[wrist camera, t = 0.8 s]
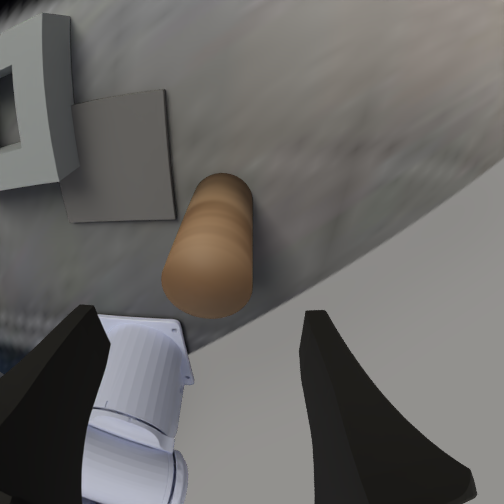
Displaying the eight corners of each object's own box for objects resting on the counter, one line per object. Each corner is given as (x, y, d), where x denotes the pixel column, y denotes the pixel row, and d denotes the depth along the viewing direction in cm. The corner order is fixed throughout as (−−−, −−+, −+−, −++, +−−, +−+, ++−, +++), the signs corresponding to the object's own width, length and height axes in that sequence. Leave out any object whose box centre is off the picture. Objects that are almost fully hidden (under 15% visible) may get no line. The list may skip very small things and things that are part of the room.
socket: (82, 164, 17) (59, 181, 14) (-11, 181, 17) (-34, 197, 14) (70, 16, 11) (42, 12, 9) (-28, 63, 11) (-55, 70, 9)
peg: (252, 226, 20) (252, 319, 13) (196, 227, 20) (169, 317, 13) (252, 172, 18) (252, 247, 11) (191, 173, 18) (154, 247, 11)
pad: (176, 216, 19) (175, 219, 19) (72, 220, 19) (69, 222, 19) (165, 89, 15) (163, 89, 14) (50, 110, 15) (46, 111, 14)
